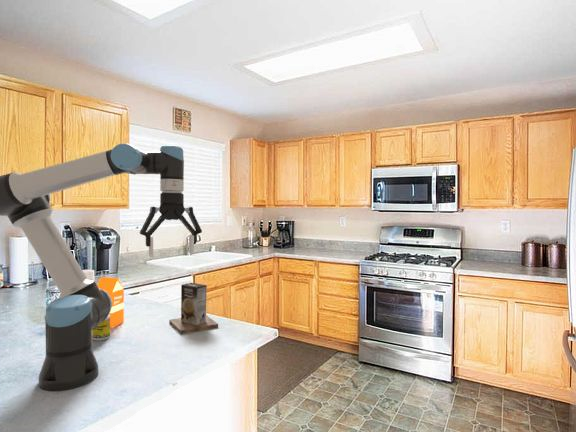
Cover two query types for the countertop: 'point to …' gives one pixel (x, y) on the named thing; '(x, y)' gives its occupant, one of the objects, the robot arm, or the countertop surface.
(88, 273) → the mug
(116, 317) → the orange juice
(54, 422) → the countertop surface
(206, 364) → the countertop surface
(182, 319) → the coffee box
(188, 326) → the walnut board
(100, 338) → the pill bottle
